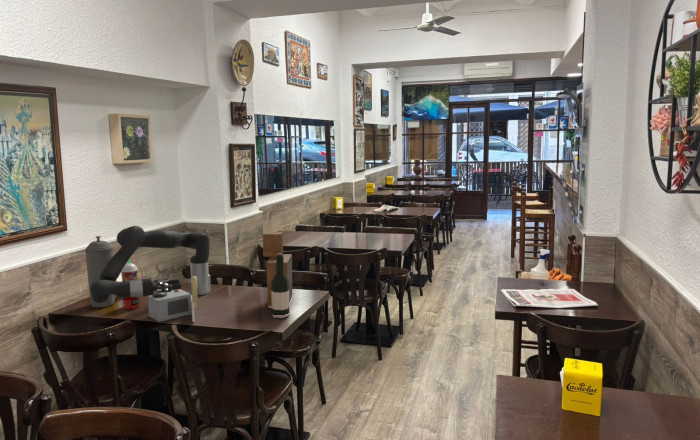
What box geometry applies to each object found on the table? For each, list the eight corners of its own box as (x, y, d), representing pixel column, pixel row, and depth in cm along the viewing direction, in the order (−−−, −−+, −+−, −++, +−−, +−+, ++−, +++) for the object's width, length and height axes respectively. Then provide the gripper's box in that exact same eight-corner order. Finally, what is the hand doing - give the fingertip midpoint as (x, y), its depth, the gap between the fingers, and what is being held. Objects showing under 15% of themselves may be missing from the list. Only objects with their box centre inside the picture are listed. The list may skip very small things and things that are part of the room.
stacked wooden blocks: (265, 296, 277) (264, 232, 272) (292, 297, 277) (291, 232, 272) (259, 308, 258) (257, 238, 253) (288, 308, 258) (287, 239, 253)
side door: (191, 313, 248) (189, 271, 245) (197, 313, 249) (195, 271, 246) (192, 322, 236) (190, 278, 233) (198, 321, 237) (197, 277, 234)
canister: (122, 301, 267) (118, 234, 262) (104, 309, 255) (100, 239, 249) (100, 299, 270) (96, 233, 265) (82, 307, 258) (77, 237, 252)
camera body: (181, 308, 257) (180, 286, 255) (191, 314, 249) (190, 291, 247) (148, 315, 246) (147, 292, 244) (158, 321, 238) (157, 297, 236)
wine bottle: (281, 319, 242) (281, 256, 237) (268, 316, 246) (267, 254, 241) (293, 314, 249) (292, 253, 244) (279, 311, 253) (278, 251, 248)
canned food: (134, 310, 254) (133, 288, 252) (119, 309, 255) (118, 287, 254) (143, 305, 261) (142, 284, 260) (129, 304, 263) (127, 283, 261)
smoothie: (142, 293, 281) (140, 257, 278) (128, 297, 274) (126, 260, 271) (132, 291, 285) (130, 255, 282) (119, 295, 278) (116, 258, 275)
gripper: (141, 283, 221) (181, 279, 227) (140, 275, 234) (178, 272, 240) (142, 300, 222) (182, 296, 228) (141, 291, 235) (179, 288, 241)
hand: (180, 284), depth 234 cm, fingers open, 8 cm apart
